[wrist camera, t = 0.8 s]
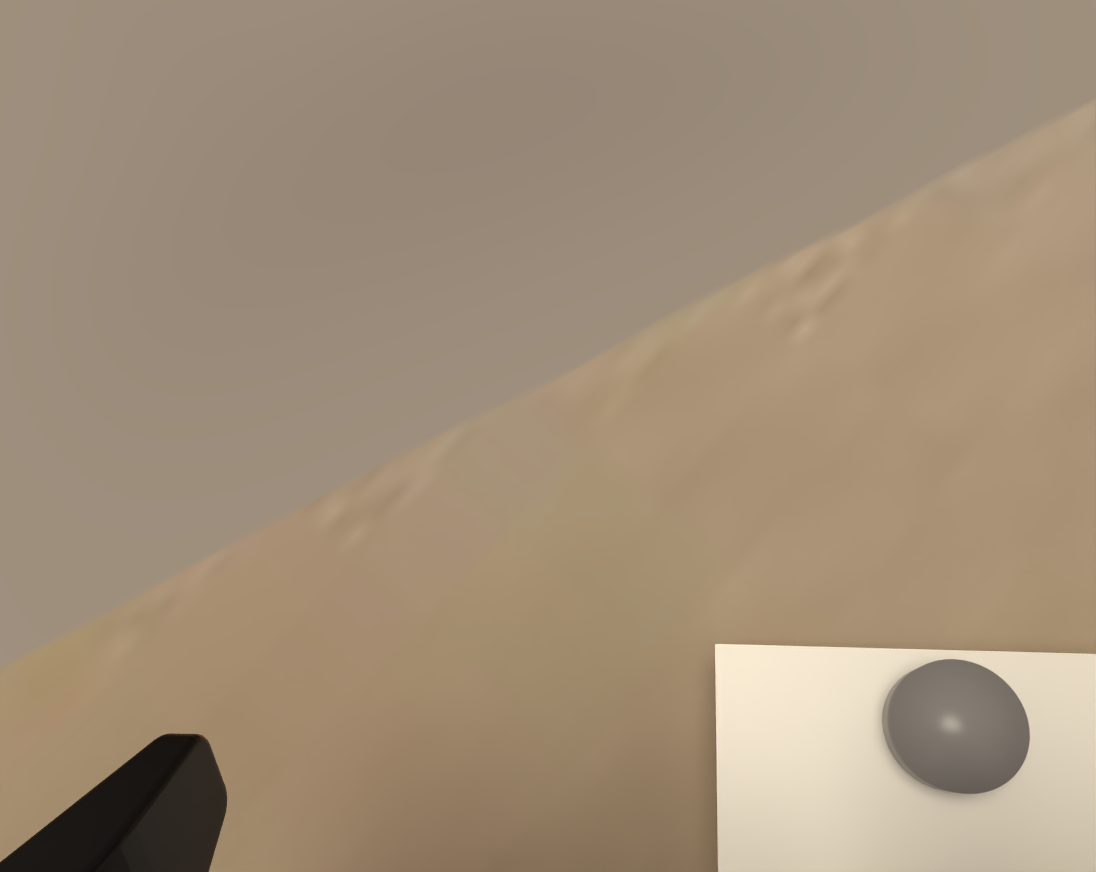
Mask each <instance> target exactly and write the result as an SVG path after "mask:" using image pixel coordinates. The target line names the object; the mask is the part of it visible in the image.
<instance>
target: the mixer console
mask: <svg viewBox="0 0 1096 872" xmlns="http://www.w3.org/2000/svg"><path fill="white" fill-rule="evenodd" d="M715 671H716V747H717V824H718V872H1096V654H1075V653H1037V652H999V651H961V650H924V649H886V648H848V647H810V646H772V645H734V644H715Z"/></svg>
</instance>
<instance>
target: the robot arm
mask: <svg viewBox="0 0 1096 872" xmlns="http://www.w3.org/2000/svg"><path fill="white" fill-rule="evenodd" d="M226 807H227V792H226V787H225V784H224V782H223V779H222V776H221V773H220V771H219V768H218V765H217V763H216V760H215V757H214V754H213V752H212V749H211V746H210V744H209V742H208V740H207V739H206V738H205V737H203V736H202V735H199V734H165V735H162V736H160V737H158V738H157V739H155V740H154V741H152V742H151V743H150V744H149V745H147V746H146V747H145V748H144V749H142V750H141V751H140V752H139V753H137V754H136V755H135V756H134V757H132V758H131V759H130V760H128V761H127V762H126V763H125V764H123V765H122V766H121V767H120V768H118V769H117V770H116V771H115V772H113V773H112V774H111V775H110V776H108V777H107V778H106V779H105V780H103V781H102V782H101V783H99V784H98V785H97V786H96V787H94V788H93V789H92V790H91V791H89V792H88V793H87V794H86V795H84V796H83V797H82V798H81V799H79V800H78V801H77V802H75V803H74V804H73V805H72V806H70V807H69V808H68V809H67V810H65V811H64V812H63V813H62V814H60V815H59V816H58V817H57V818H55V819H54V820H53V821H52V822H50V823H49V824H48V825H46V826H45V827H44V828H43V829H41V830H40V831H39V832H38V833H36V834H35V835H34V836H33V837H31V838H30V839H29V840H28V841H26V842H25V843H24V844H23V845H21V846H20V847H19V848H17V849H16V850H15V851H14V852H12V853H11V854H10V855H9V856H7V857H6V858H5V859H4V860H2V861H1V862H0V872H209V869H210V865H211V862H212V858H213V855H214V851H215V848H216V845H217V841H218V838H219V834H220V831H221V827H222V824H223V821H224V817H225V813H226Z"/></svg>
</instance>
